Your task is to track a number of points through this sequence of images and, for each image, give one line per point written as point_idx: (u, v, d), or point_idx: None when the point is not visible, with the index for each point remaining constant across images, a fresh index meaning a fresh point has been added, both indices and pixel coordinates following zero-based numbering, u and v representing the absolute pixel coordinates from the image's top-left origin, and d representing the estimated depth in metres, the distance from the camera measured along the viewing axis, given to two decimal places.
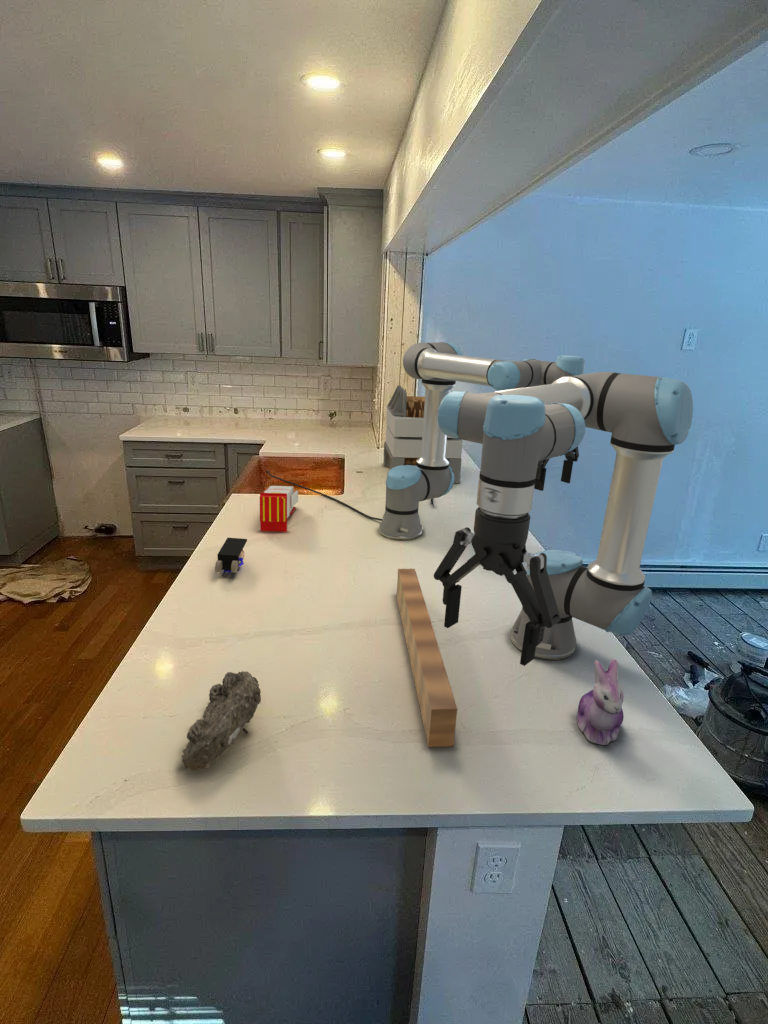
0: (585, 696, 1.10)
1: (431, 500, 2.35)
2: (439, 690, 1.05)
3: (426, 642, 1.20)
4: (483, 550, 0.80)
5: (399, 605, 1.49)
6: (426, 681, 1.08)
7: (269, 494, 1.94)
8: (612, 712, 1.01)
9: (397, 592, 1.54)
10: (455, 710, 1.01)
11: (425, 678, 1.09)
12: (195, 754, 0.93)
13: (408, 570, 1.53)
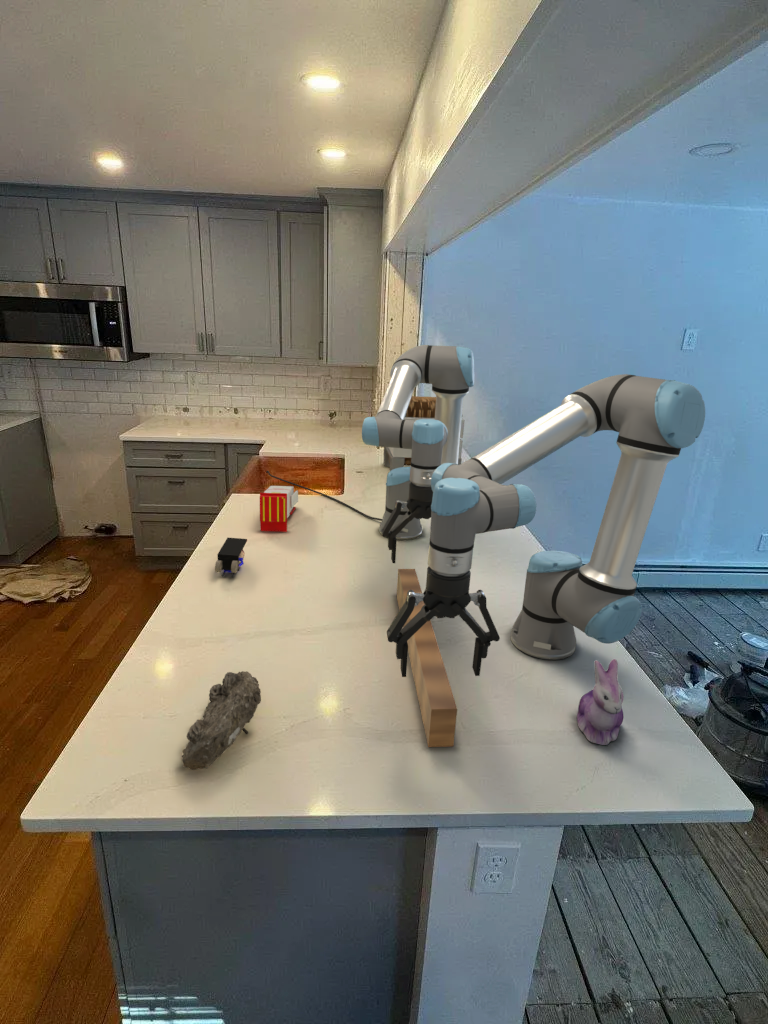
0: (585, 696, 1.10)
1: None
2: (439, 690, 1.05)
3: (426, 642, 1.20)
4: (441, 604, 0.98)
5: (399, 605, 1.49)
6: (426, 681, 1.08)
7: (269, 494, 1.94)
8: (612, 712, 1.01)
9: (397, 592, 1.54)
10: (455, 710, 1.01)
11: (425, 678, 1.09)
12: (195, 754, 0.93)
13: (408, 570, 1.53)
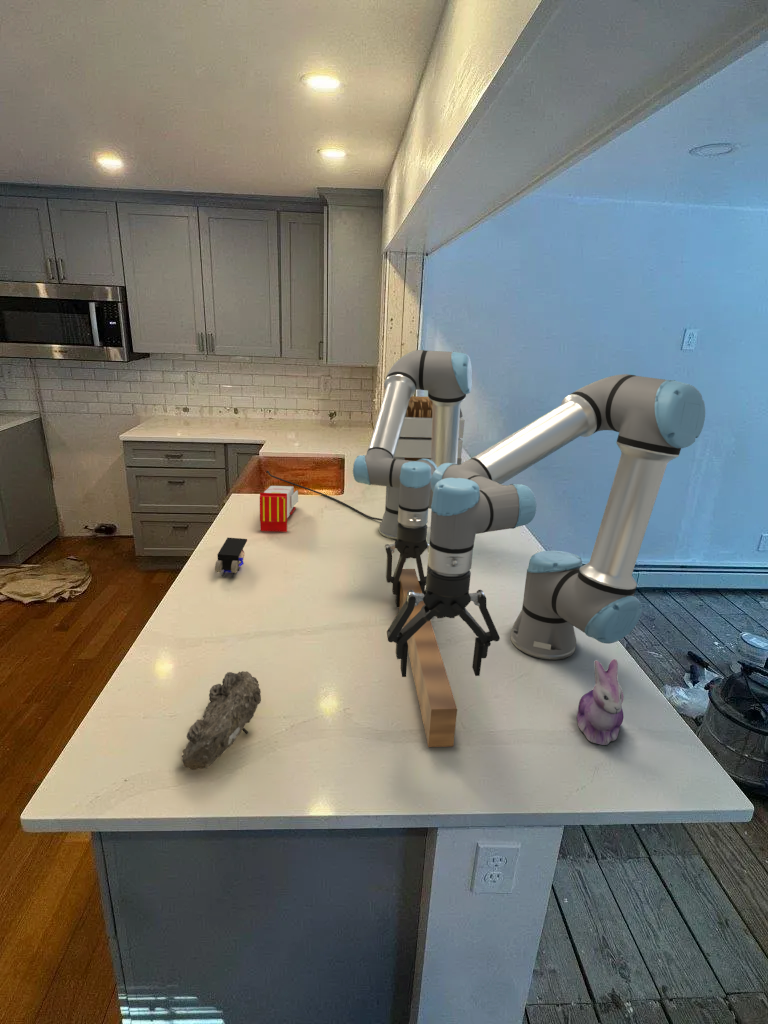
0: (585, 696, 1.10)
1: None
2: (439, 690, 1.05)
3: (426, 642, 1.20)
4: (441, 604, 0.98)
5: (399, 605, 1.49)
6: (426, 681, 1.08)
7: (269, 494, 1.94)
8: (612, 712, 1.01)
9: None
10: (455, 710, 1.01)
11: (425, 678, 1.09)
12: (195, 754, 0.93)
13: (408, 570, 1.53)
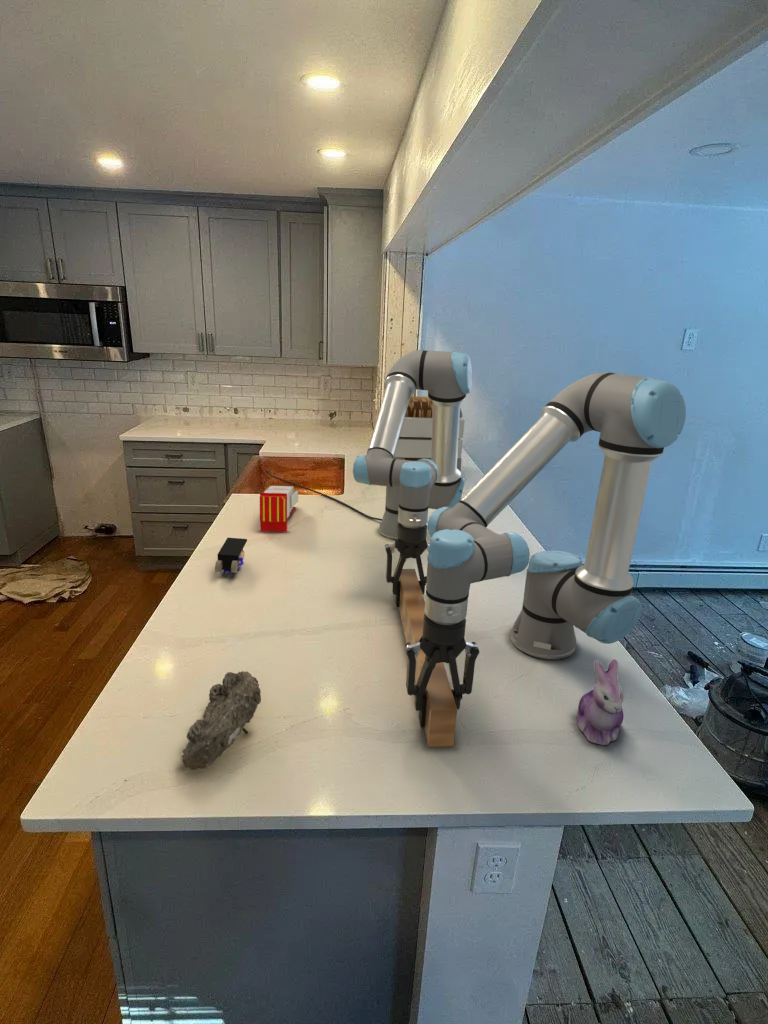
0: (585, 696, 1.10)
1: None
2: (439, 690, 1.05)
3: None
4: (437, 650, 1.01)
5: (399, 605, 1.49)
6: None
7: (269, 494, 1.94)
8: (612, 712, 1.01)
9: None
10: (455, 710, 1.01)
11: None
12: (195, 754, 0.93)
13: (408, 570, 1.53)
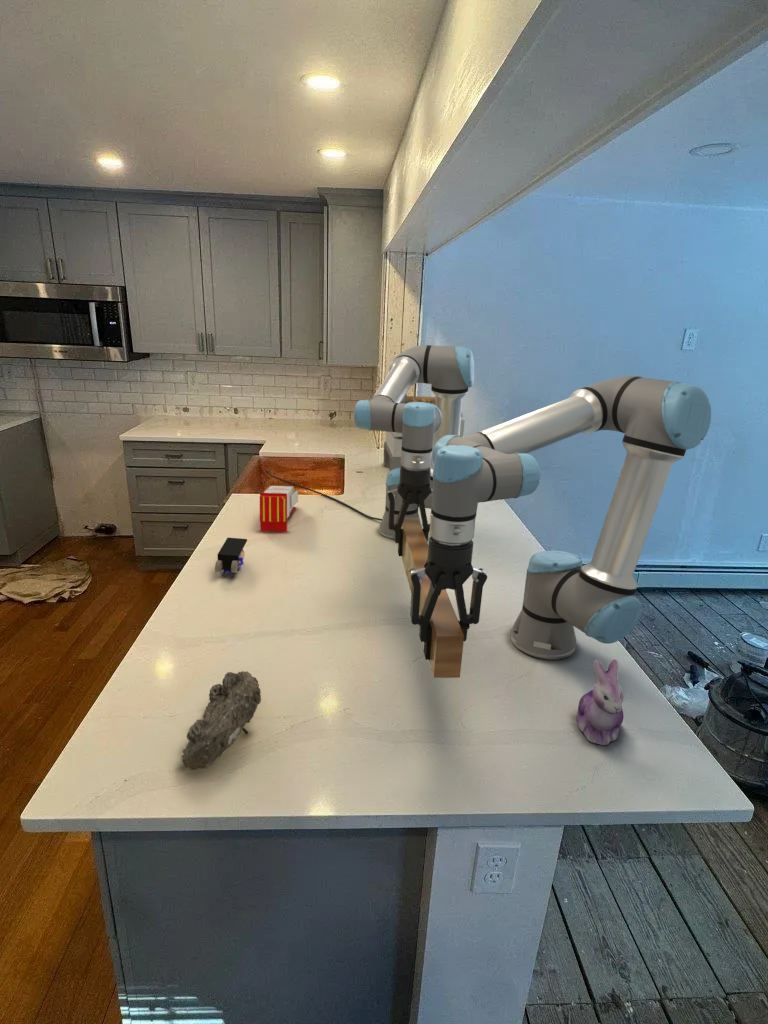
0: (585, 696, 1.10)
1: None
2: (445, 619, 1.01)
3: None
4: (443, 575, 0.96)
5: (402, 554, 1.45)
6: None
7: (269, 494, 1.94)
8: (612, 712, 1.01)
9: None
10: (462, 637, 0.96)
11: None
12: (195, 754, 0.93)
13: (411, 519, 1.48)
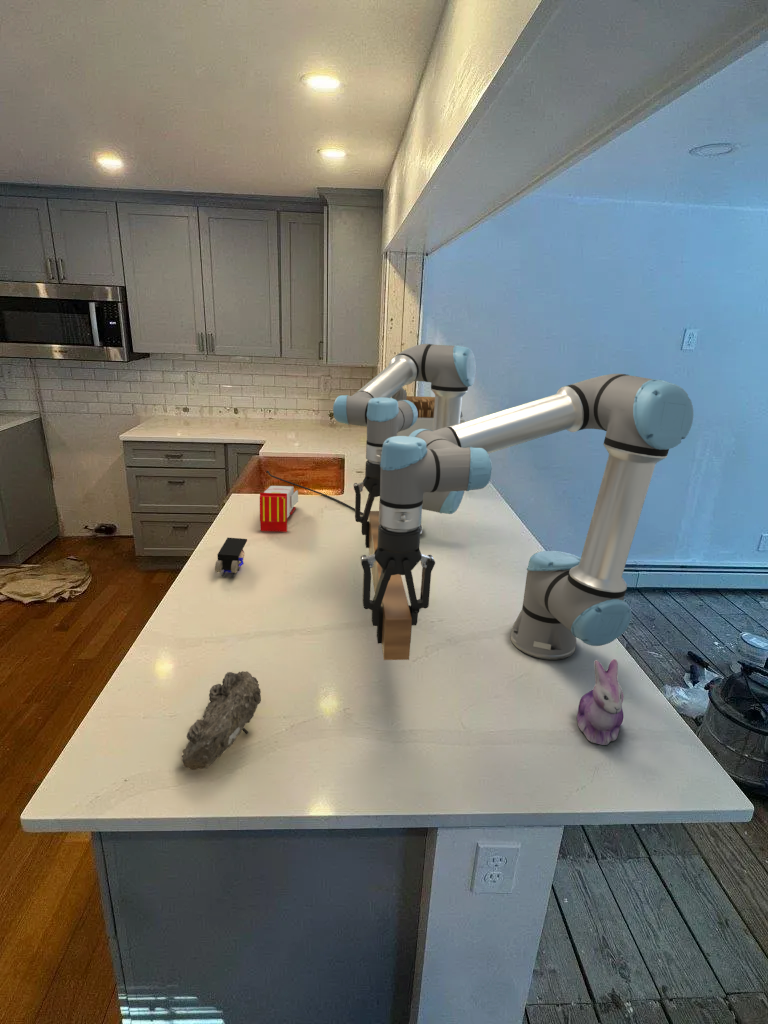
0: (585, 696, 1.10)
1: None
2: (396, 604, 1.05)
3: None
4: (392, 560, 1.00)
5: None
6: (383, 597, 1.07)
7: (269, 494, 1.94)
8: (612, 712, 1.01)
9: None
10: (410, 620, 1.00)
11: None
12: (195, 754, 0.93)
13: (378, 512, 1.52)
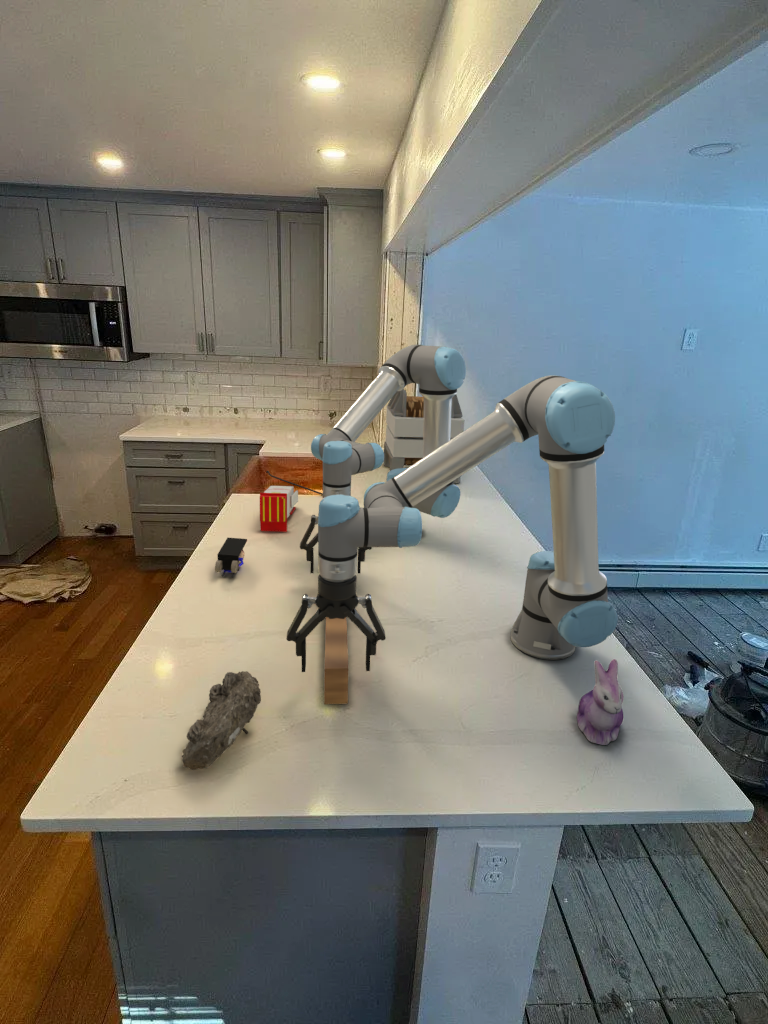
0: (585, 696, 1.10)
1: None
2: (337, 652, 1.15)
3: None
4: (330, 606, 1.10)
5: None
6: (326, 645, 1.17)
7: (269, 494, 1.94)
8: (612, 712, 1.01)
9: None
10: (346, 669, 1.10)
11: (326, 643, 1.18)
12: (195, 754, 0.93)
13: None
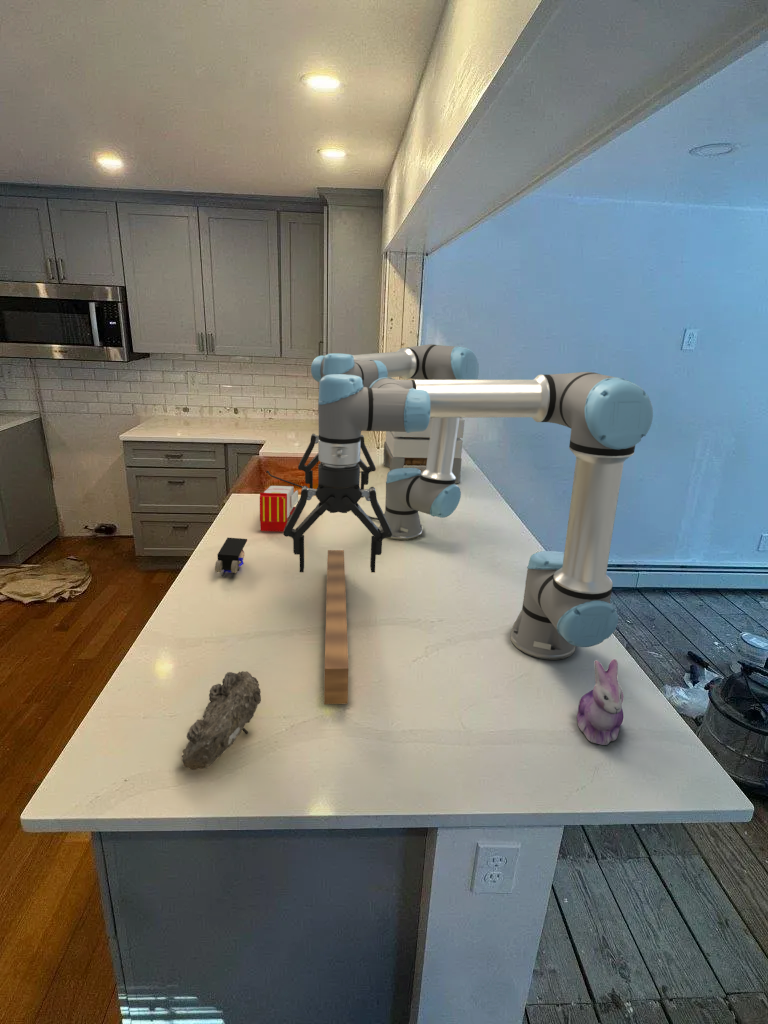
0: (585, 696, 1.10)
1: None
2: (337, 653, 1.15)
3: (335, 613, 1.30)
4: (332, 497, 1.02)
5: None
6: (326, 645, 1.17)
7: (269, 494, 1.94)
8: (612, 712, 1.01)
9: None
10: (346, 669, 1.10)
11: (326, 643, 1.18)
12: (195, 754, 0.93)
13: (337, 551, 1.63)
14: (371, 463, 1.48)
